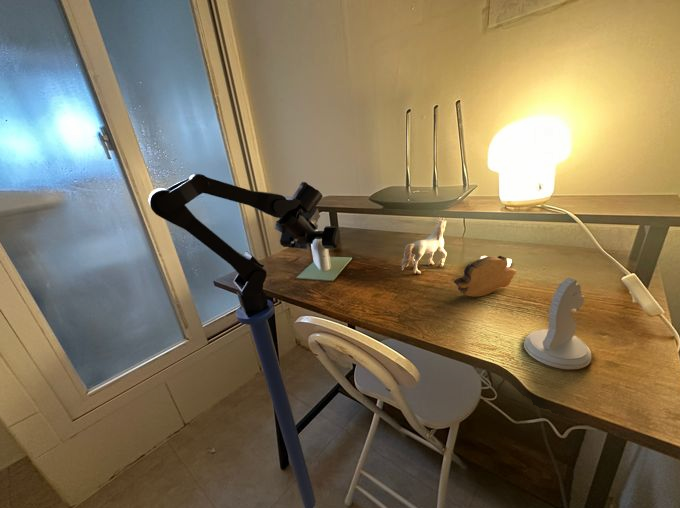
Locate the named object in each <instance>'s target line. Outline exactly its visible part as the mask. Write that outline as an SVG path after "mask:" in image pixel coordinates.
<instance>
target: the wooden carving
mask: <svg viewBox="0 0 680 508" xmlns="http://www.w3.org/2000/svg"><path fill="white" fill-rule="evenodd" d="M507 259H508V258H507V257H505V256H502V255H498V256H493V255H491V256H490V255H489V256H487V257H485V258H482V259H480V258H479V259H476V260H475V261H473V262H472V263H470V264H467V265H466V266H465V267H464V270H463V276H462V277H458V278H456V279H454V281H453V284H455V285H456V286H457V287H458V288H457V290H458V291H459V292H461V293H462V295H465V296H468V297H475V298H476V297H477V298H478V297H483V296H486V295H489V294H491V293H493V292H494V291H496V290H498V289H499V288H505V287H508V286H509V285H510V284H511V282H512V280H513V279H514V276H515V275H516V274H517V270H516V269H515V268H511V266H510V267H507V265H508V262H507Z"/></svg>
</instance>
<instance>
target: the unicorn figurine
mask: <svg viewBox="0 0 680 508" xmlns="http://www.w3.org/2000/svg"><path fill="white" fill-rule="evenodd" d="M437 217H438V216H437ZM436 225H437V226H436V227H435V229H433V232H432V233H431V234H429V236H427V237H426V238H425V239H419V240H415V241H413V242H412V243H408V244H406V245H405V248H404V251H403V258H402V259H401V263H400V265H401V271H403V270H405V268H407V267H408V266H409V265H410V263H411V266H412V272H413V274H417V275H421V274H422V271H421V270H419V268H418V263H419V261H420V260H421V259H422V257H423V256H424V254H427V255H428V254H429V259H427V266H430V265H431V266H434V265H435V262H434V260H433V257H434V254H435V252H439V253H441V254H442V257H441V258H440V259H439V261H438V267H439V268H443V266H444V264H445V262H446V258H447V255H448V253H447V251H446V250H445V249H444V246H445V239H444V232H445V230H446V229H445V228H446V225H447V220H443V219H442V218H441V216H440V217H438V219H437V223H436Z"/></svg>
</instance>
